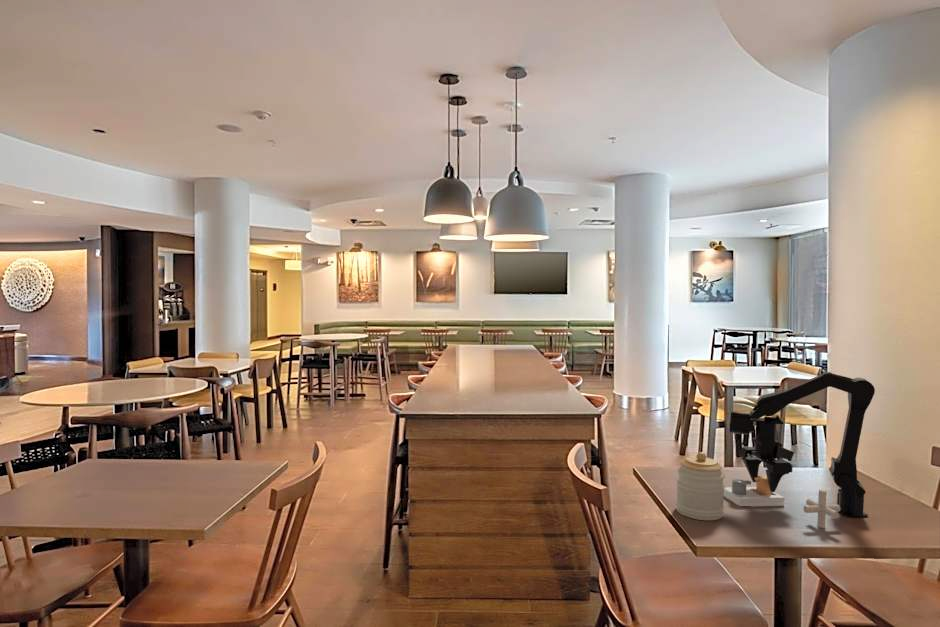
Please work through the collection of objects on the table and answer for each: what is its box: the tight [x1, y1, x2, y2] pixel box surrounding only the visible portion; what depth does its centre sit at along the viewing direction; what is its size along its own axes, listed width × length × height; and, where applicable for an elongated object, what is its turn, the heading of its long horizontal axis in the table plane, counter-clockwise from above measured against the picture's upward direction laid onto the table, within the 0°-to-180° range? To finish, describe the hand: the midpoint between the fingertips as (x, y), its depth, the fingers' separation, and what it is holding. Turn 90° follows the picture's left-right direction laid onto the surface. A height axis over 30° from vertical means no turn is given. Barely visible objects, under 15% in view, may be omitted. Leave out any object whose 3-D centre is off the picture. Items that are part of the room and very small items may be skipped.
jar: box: [675, 451, 726, 521], centre depth 173 cm, size 13×13×18 cm
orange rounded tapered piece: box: [755, 475, 771, 495], centre depth 185 cm, size 4×5×6 cm
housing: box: [724, 478, 785, 507], centre depth 185 cm, size 10×14×6 cm
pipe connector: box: [802, 489, 840, 529], centre depth 165 cm, size 10×10×10 cm
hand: (763, 486), depth 185 cm, fingers open, 9 cm apart
